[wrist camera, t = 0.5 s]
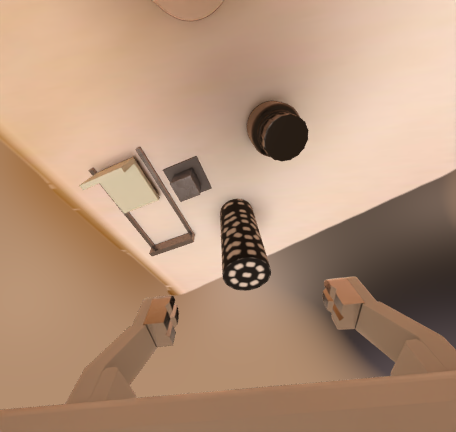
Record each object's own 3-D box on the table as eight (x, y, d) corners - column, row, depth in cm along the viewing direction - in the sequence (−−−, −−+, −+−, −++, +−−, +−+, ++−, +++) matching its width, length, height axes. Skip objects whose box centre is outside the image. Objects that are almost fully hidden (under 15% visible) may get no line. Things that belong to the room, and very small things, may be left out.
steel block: (174, 174, 44) (169, 183, 40) (192, 167, 44) (190, 175, 39) (183, 191, 47) (180, 201, 43) (201, 184, 46) (200, 194, 42)
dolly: (99, 170, 43) (79, 185, 37) (135, 154, 42) (120, 167, 35) (128, 207, 48) (115, 226, 42) (161, 194, 47) (152, 212, 41)
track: (90, 169, 43) (82, 174, 41) (140, 146, 41) (135, 150, 39) (154, 248, 56) (151, 256, 54) (194, 234, 54) (193, 242, 52)
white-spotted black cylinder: (217, 224, 53) (218, 288, 36) (223, 196, 48) (227, 254, 32) (248, 228, 54) (263, 292, 37) (256, 201, 50) (277, 260, 33)
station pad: (163, 169, 44) (162, 170, 44) (196, 156, 43) (196, 156, 42) (180, 199, 48) (180, 200, 48) (211, 187, 47) (211, 188, 47)
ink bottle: (254, 156, 44) (266, 177, 34) (237, 116, 39) (244, 127, 29) (297, 134, 42) (323, 150, 32) (284, 90, 37) (310, 91, 27)
